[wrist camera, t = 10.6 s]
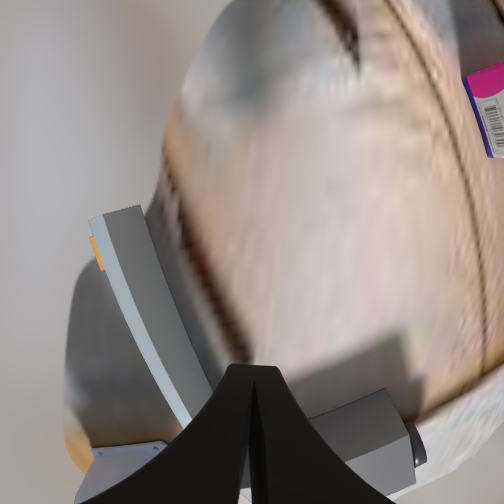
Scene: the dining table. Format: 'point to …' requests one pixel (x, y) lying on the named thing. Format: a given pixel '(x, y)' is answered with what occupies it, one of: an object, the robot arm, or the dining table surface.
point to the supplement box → (489, 105)
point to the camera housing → (368, 443)
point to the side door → (150, 309)
